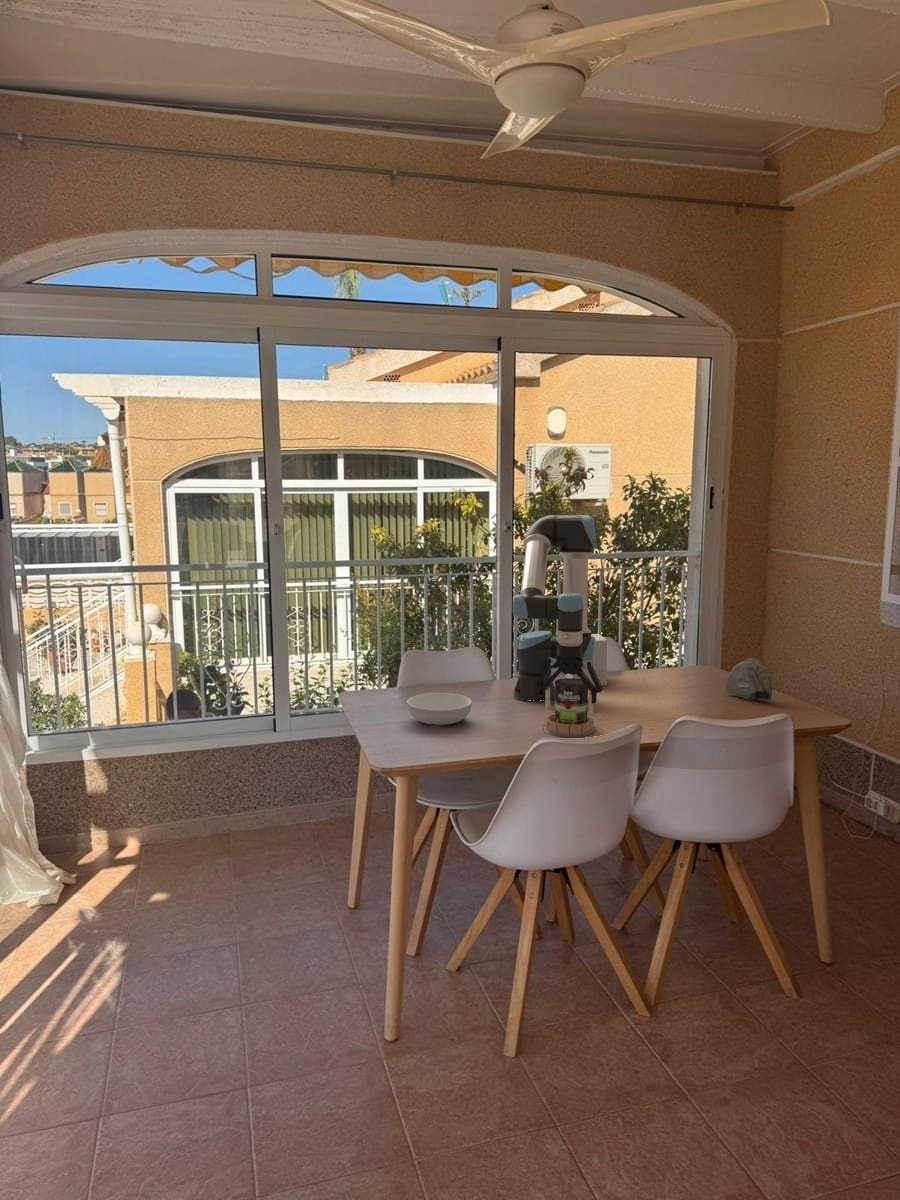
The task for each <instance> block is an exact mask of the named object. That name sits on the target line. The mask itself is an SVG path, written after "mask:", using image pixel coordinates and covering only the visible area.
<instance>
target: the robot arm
mask: <svg viewBox="0 0 900 1200" xmlns="http://www.w3.org/2000/svg"><path fill="white" fill-rule="evenodd" d="M597 548H598V545H597V537H596V528H595V519H594V517H593V516H591V515H588V514H585V515H584V514H563V515H562V514H557V515H556V514H548V515H545V516H543V517H541V518H539V519H537V520H536V521H535V522H534V523H533V524H532V525H531V526H530V527H529V528H528V530H527V531H526V533H525V536H524V538H523V549H524V551H525V554H524V562H523V569H522V579H521V589H520V594H516V595H514V596H513V597H512V615H513V617H514V618H516V619H523V620H557V635H553V632H552V631H551V630H535V631H530V632H527V633H523V634H521V635H520V637H519V639H518V647H517V649H518V676H517V679H516V682H515V685H514V688H513V697H514V696H515V697H517V698H519V699H523V700H531V701H530V702H532V701H533V700H534V701H540V700H542V701H540V702H544V703H545V709H544V710H545V711H549V710H550V709H551V699H552V700H555V699H554V698H555V679H556V678H558V676H559V675H560V674H561V673H562V674H564V675H566V674H571V675H574V674H577V676H578V677H580V679H581V680H582V681H583V682H584V684H585V685H587V687H588V691H589V692H588V715H590V716H592V715H593V713H594V705H595V704H596V703H597V699H598V698H597V696H598V695H597V693H601V692H602V691H603V690H604V687H603V685H601V683H600V681H599V679H598V677H597V674H596V672H595V670H594V668H593V662H592V658H593V652H594V644H595V637H593V636H592V637H591V634H592V631H591V629H590V628H589V627H588V598H589V597H588V592H589V591H588V589H589V588H588V584H589V581H588V580H589V558H590V557H592V555H593V553H594V552H593V550H594V549H597ZM551 549H558V550H559V552H558V554H559V555H560V556H561V557H562V558H563V561H562V562H563V567H562V568H563V571H562V572H563V573H562V579H563V581H562V593H559V595H548V594H547V595H545V587H546V575H547V566H548V565H547V564H548V553H549V552H550V551H551ZM554 669H557V670H556V671H555V672H554V673H553V674H552V670H554ZM582 669H588V672H589V674H590V676H591V678H592V680H593V682H594V685H593V684H592V682H591V681H590V680H589V679H588V677H587V676H586V675H585V674H584V671H583V670H582ZM515 697H514V698H515ZM519 699H518V700H519ZM523 700H522V701H523ZM543 700H545V701H543Z"/></svg>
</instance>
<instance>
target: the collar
mask: <svg viewBox="0 0 900 1200" xmlns="http://www.w3.org/2000/svg"><path fill="white" fill-rule="evenodd" d="M543 722H544V723H543V724H542V729H543V728H544V729H545V730H546V731H548V732H549V733H551V734H554V735H553V736H555V735H559V736H558V737H562V738H582V737H587V736H591V735H593V734H594V733H595V732H596V725H595V719H594V718H593V717H592V715H589V714H588V715H587V722H585V723H582V724H560V723H556V722H555V712H552V713H548V714H546V715H545V716H544V718H543ZM551 734H550V735H551Z"/></svg>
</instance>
